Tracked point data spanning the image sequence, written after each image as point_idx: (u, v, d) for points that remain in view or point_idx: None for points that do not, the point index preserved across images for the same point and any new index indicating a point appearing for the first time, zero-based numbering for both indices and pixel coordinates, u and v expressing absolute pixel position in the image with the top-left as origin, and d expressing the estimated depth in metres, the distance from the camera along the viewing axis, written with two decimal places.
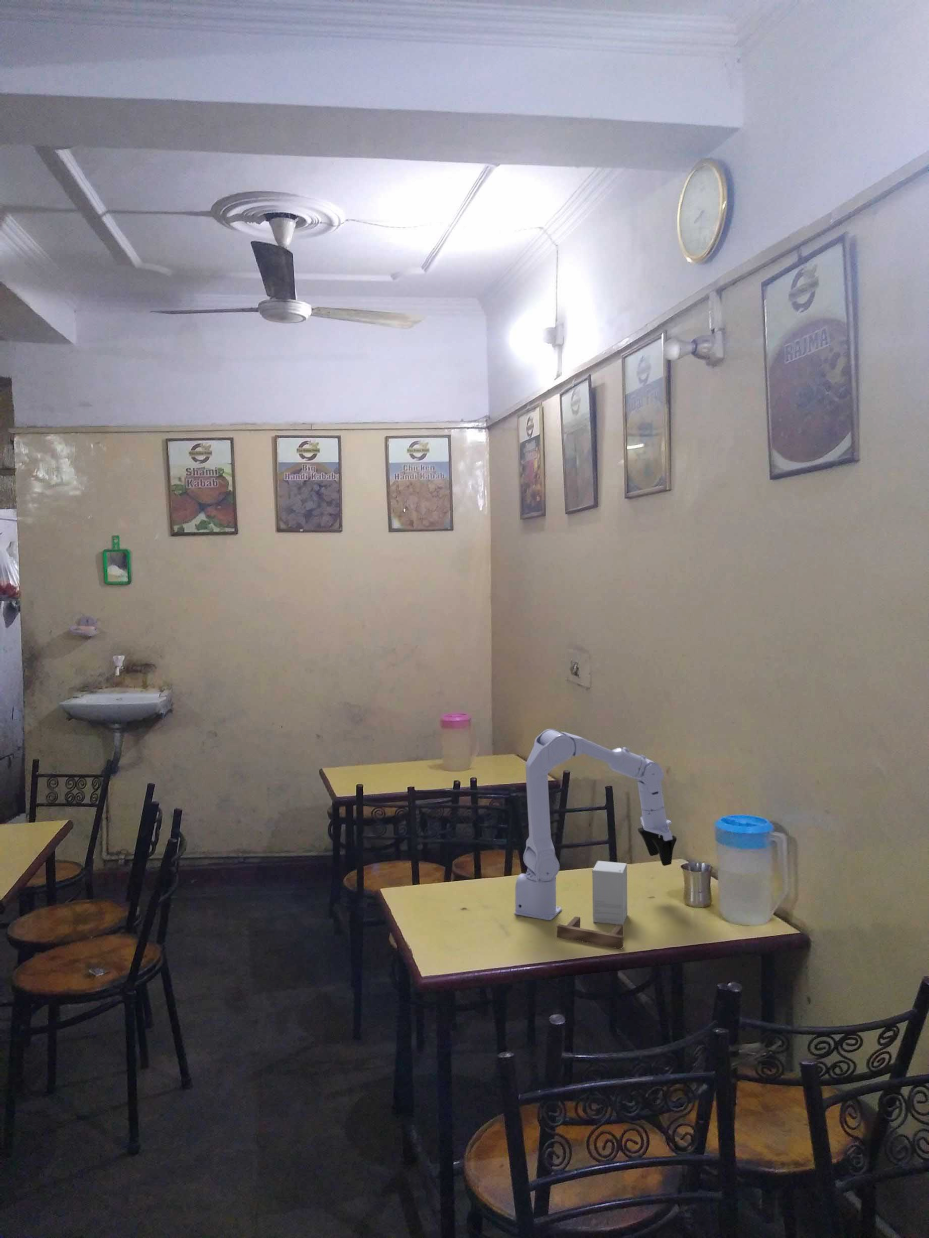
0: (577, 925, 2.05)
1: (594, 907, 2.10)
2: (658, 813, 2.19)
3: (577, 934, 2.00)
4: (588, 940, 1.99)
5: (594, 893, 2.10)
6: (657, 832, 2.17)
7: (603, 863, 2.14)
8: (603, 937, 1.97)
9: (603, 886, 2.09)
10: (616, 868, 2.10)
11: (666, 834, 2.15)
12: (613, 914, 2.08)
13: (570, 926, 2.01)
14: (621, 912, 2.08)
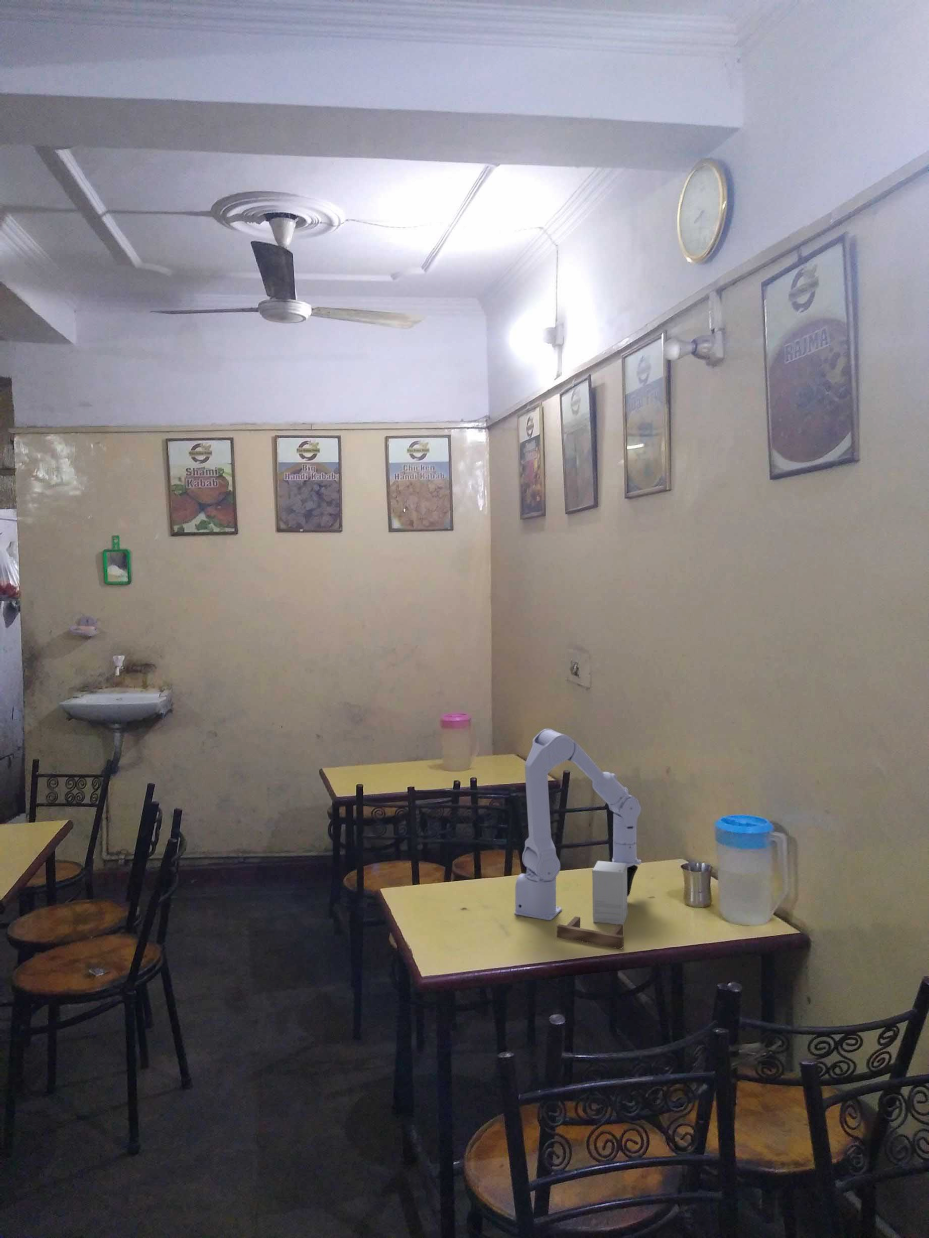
0: (577, 925, 2.05)
1: (594, 907, 2.10)
2: (622, 848, 2.20)
3: (577, 934, 2.00)
4: (588, 940, 1.99)
5: (594, 893, 2.10)
6: None
7: (603, 863, 2.14)
8: (603, 937, 1.97)
9: (603, 886, 2.09)
10: (616, 868, 2.10)
11: None
12: (613, 914, 2.08)
13: (570, 926, 2.01)
14: (621, 912, 2.08)
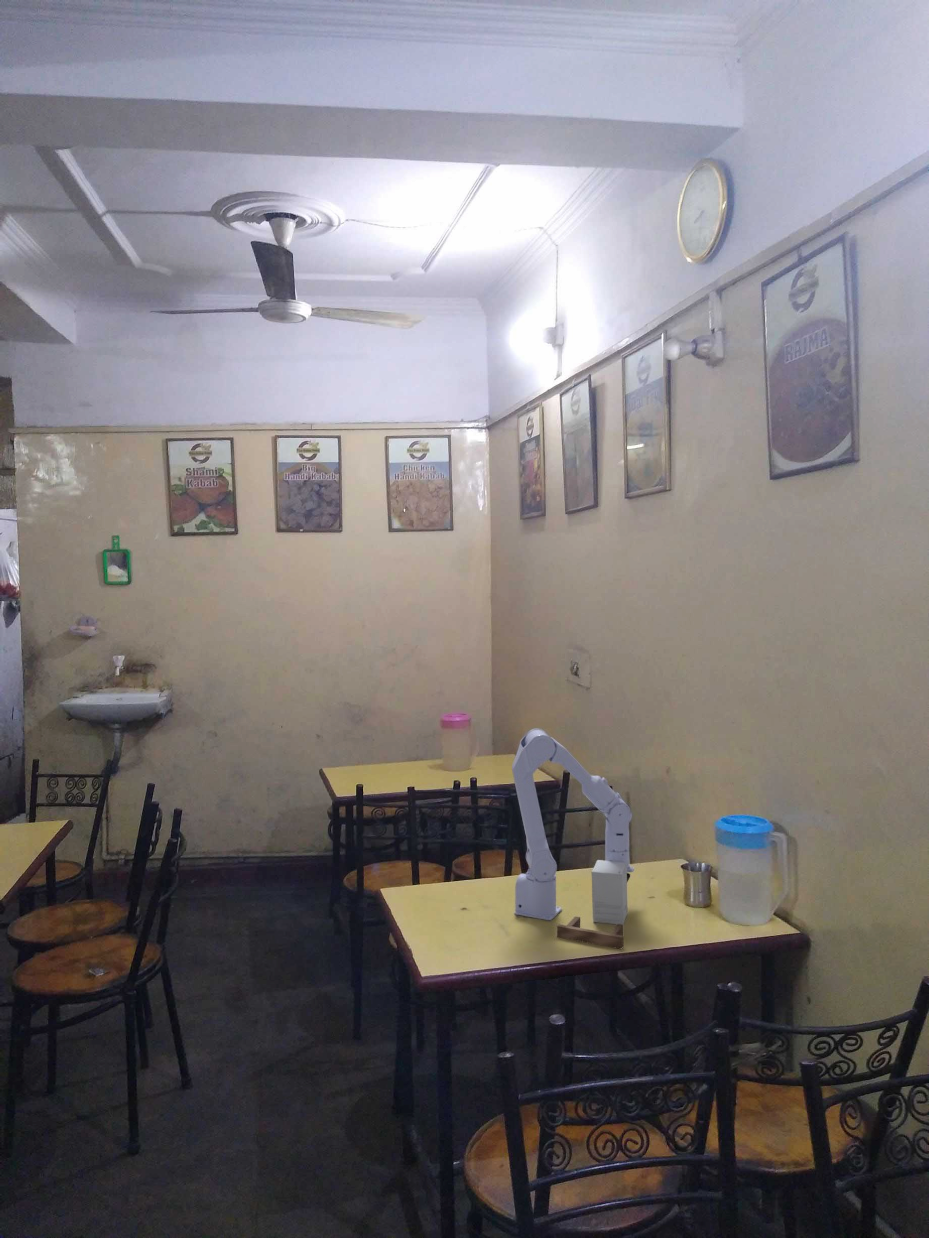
0: (577, 925, 2.05)
1: (594, 907, 2.10)
2: (614, 855, 2.14)
3: (577, 934, 2.00)
4: (588, 940, 1.99)
5: (594, 894, 2.09)
6: None
7: (603, 862, 2.13)
8: (603, 937, 1.97)
9: (602, 888, 2.08)
10: (616, 868, 2.09)
11: None
12: (613, 915, 2.08)
13: (570, 926, 2.01)
14: (621, 913, 2.08)
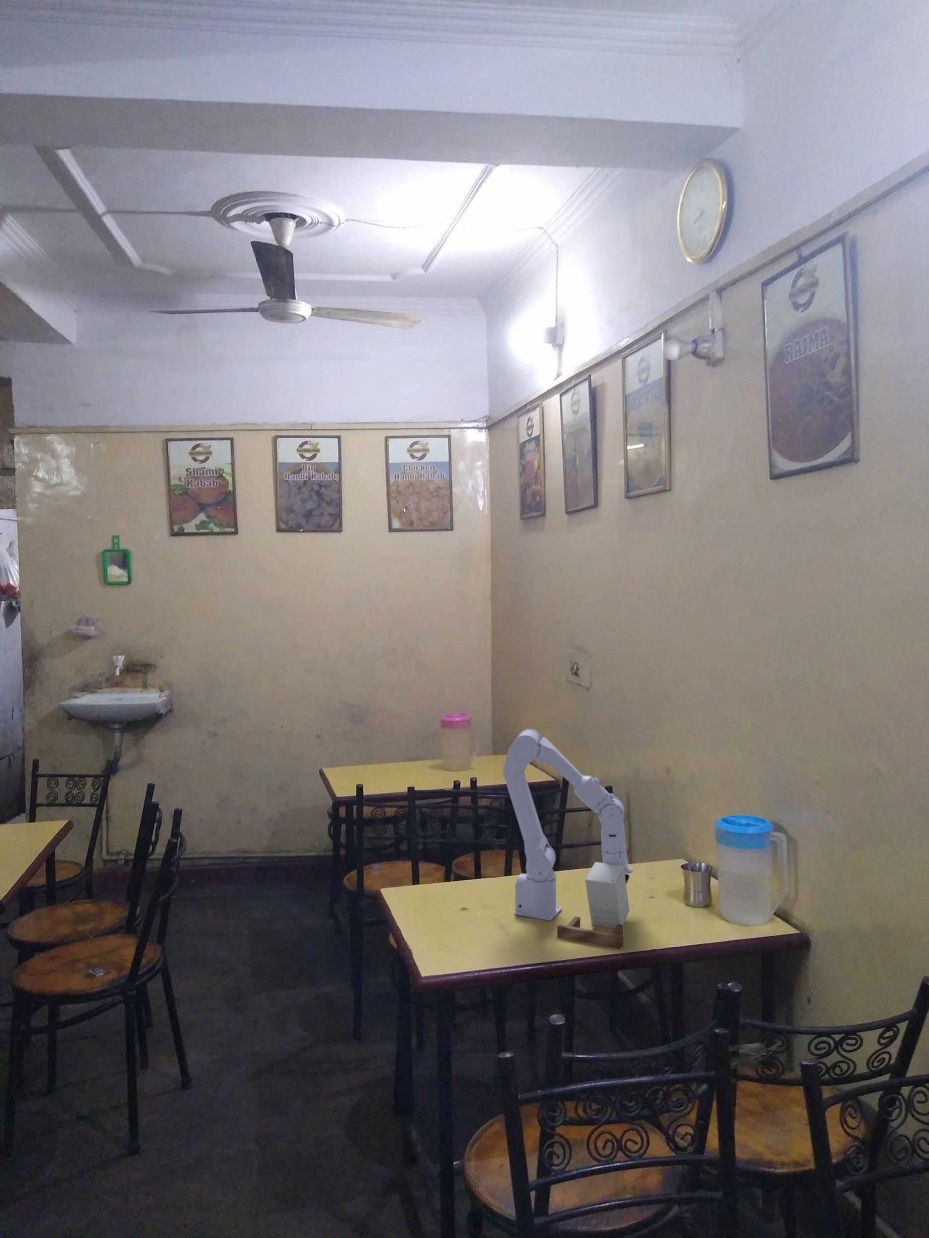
0: (577, 925, 2.05)
1: (591, 912, 2.08)
2: (611, 857, 2.09)
3: (577, 934, 2.00)
4: (588, 940, 1.99)
5: (589, 900, 2.07)
6: None
7: (599, 866, 2.09)
8: (603, 937, 1.97)
9: (597, 895, 2.05)
10: (610, 875, 2.05)
11: None
12: (610, 920, 2.06)
13: (570, 926, 2.01)
14: (617, 918, 2.05)
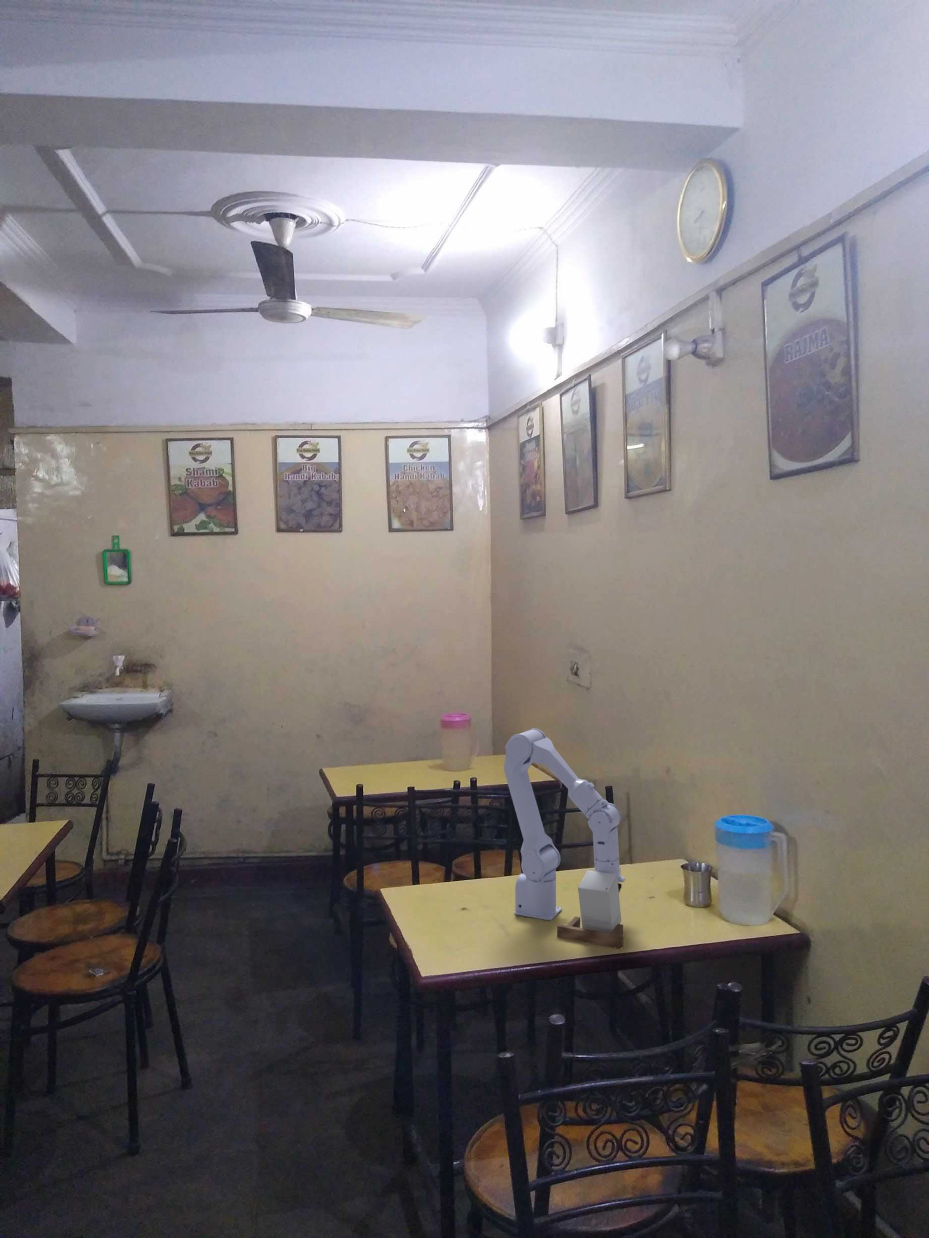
0: (577, 925, 2.05)
1: (583, 921, 2.02)
2: (603, 865, 2.04)
3: (577, 934, 2.00)
4: (588, 940, 1.99)
5: (582, 909, 2.01)
6: None
7: (592, 874, 2.03)
8: (603, 937, 1.97)
9: (590, 903, 2.00)
10: (604, 883, 1.99)
11: None
12: (603, 929, 2.00)
13: (570, 926, 2.01)
14: (610, 928, 1.99)
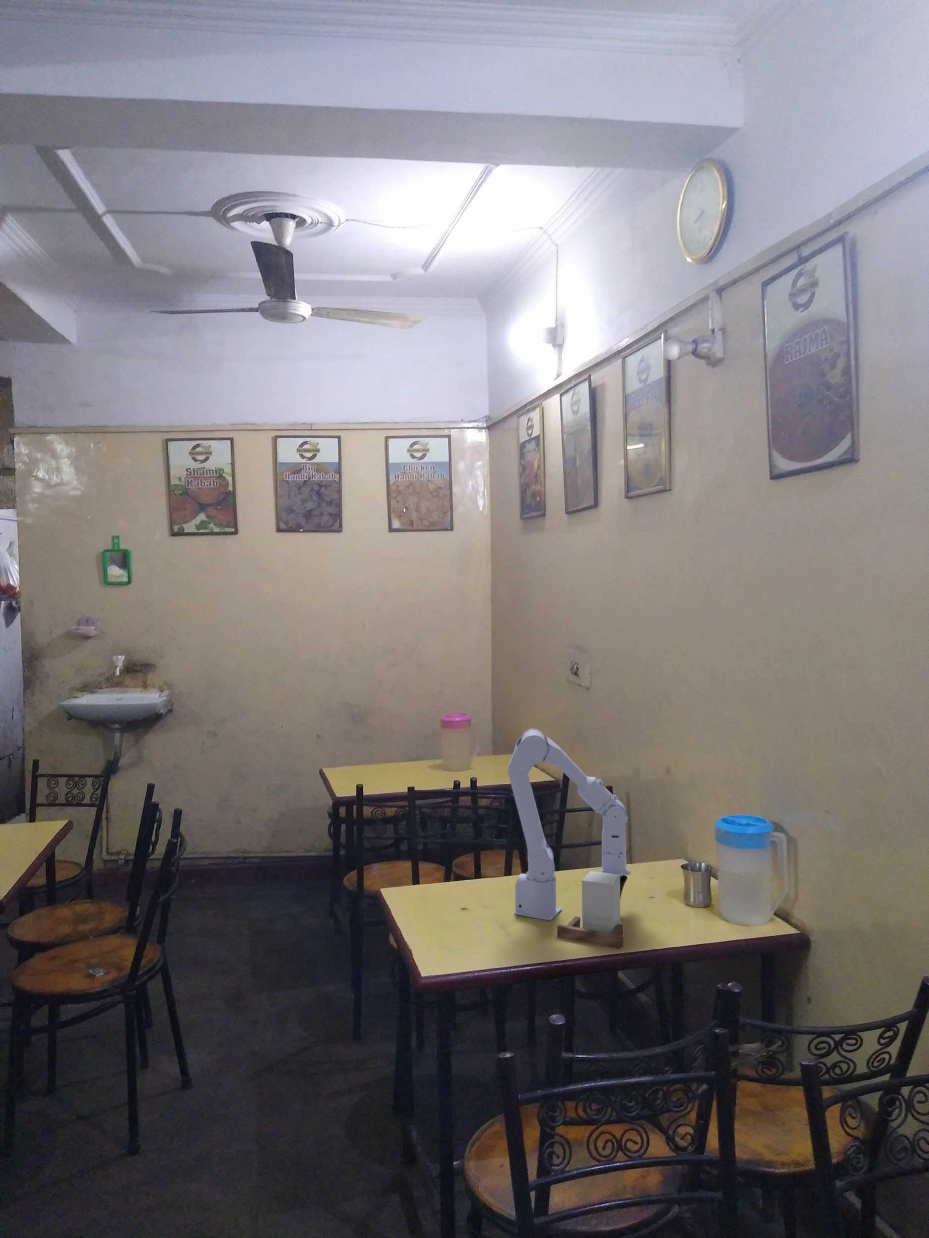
0: (577, 925, 2.05)
1: (583, 919, 2.03)
2: (610, 857, 2.12)
3: (577, 934, 2.00)
4: (588, 940, 1.99)
5: (583, 904, 2.03)
6: None
7: (595, 873, 2.07)
8: (603, 937, 1.97)
9: (592, 898, 2.02)
10: (607, 879, 2.03)
11: None
12: (603, 927, 2.01)
13: (570, 926, 2.01)
14: (611, 925, 2.00)
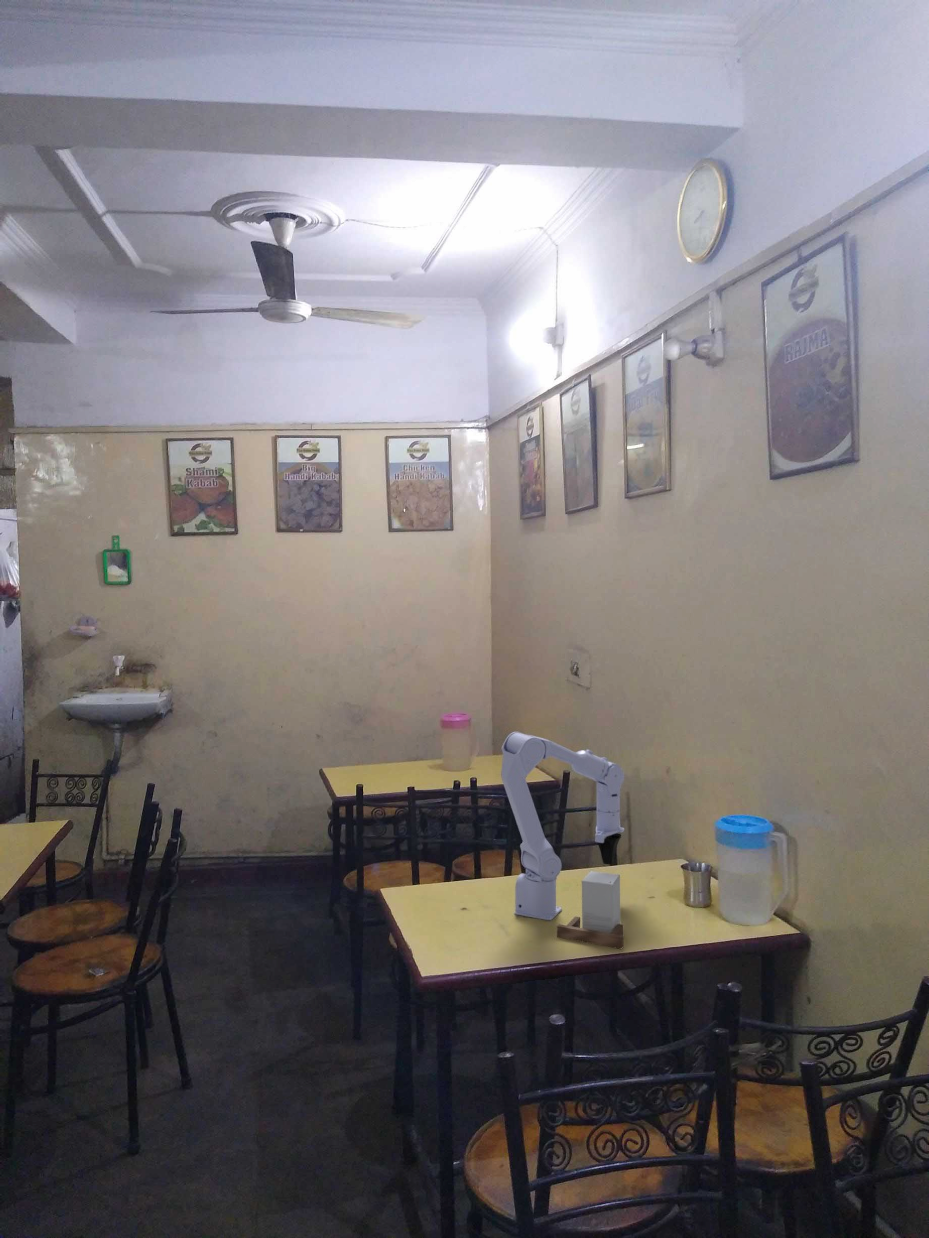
0: (577, 925, 2.05)
1: (583, 919, 2.03)
2: (605, 816, 2.20)
3: (577, 934, 2.00)
4: (588, 940, 1.99)
5: (583, 905, 2.02)
6: (596, 832, 2.20)
7: (595, 873, 2.07)
8: (603, 937, 1.97)
9: (592, 898, 2.02)
10: (607, 879, 2.03)
11: (597, 836, 2.17)
12: (603, 927, 2.01)
13: (570, 926, 2.01)
14: (611, 925, 2.00)
